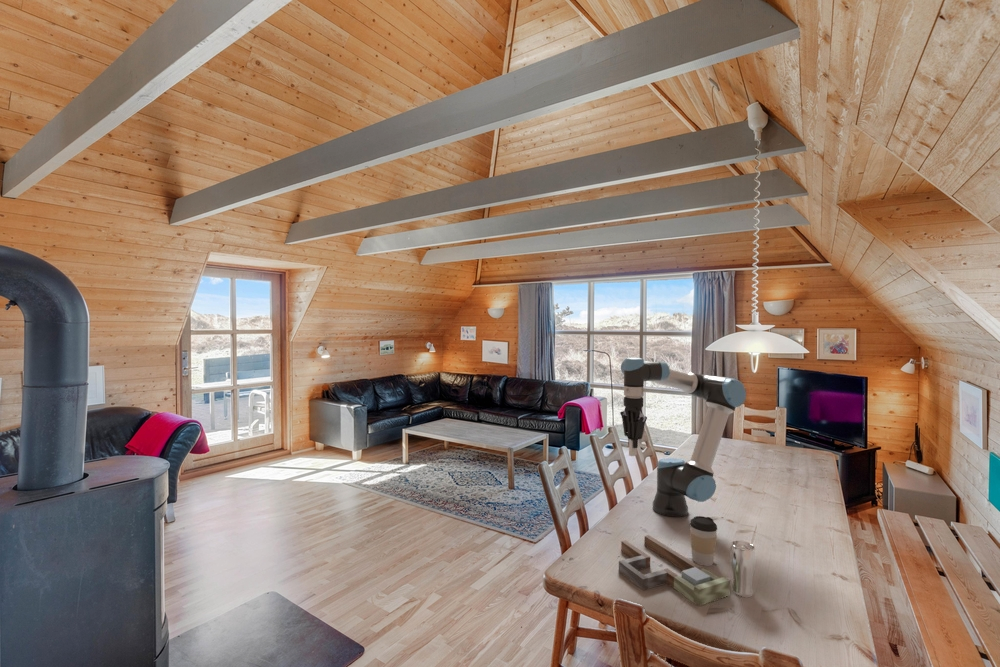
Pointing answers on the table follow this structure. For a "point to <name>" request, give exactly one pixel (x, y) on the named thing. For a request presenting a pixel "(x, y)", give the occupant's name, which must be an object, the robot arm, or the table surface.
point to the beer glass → (742, 567)
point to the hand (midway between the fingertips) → (632, 455)
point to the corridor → (670, 573)
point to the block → (695, 576)
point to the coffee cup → (703, 539)
